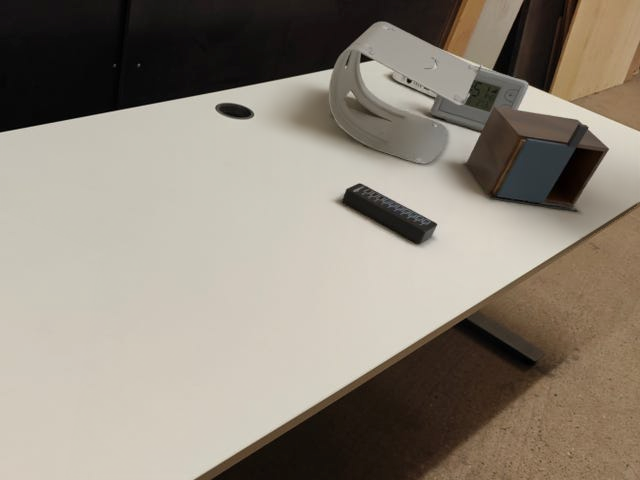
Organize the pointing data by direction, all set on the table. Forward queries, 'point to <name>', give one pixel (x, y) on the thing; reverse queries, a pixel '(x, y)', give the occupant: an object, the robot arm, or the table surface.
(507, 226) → the table surface
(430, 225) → the multiport hub
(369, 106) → the laptop stand
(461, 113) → the digital clock
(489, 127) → the cupboard
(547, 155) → the sliding door
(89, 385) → the table surface
